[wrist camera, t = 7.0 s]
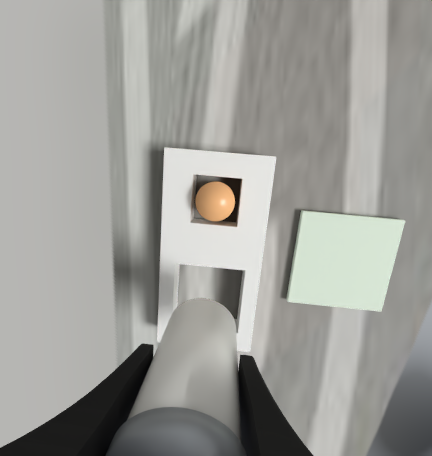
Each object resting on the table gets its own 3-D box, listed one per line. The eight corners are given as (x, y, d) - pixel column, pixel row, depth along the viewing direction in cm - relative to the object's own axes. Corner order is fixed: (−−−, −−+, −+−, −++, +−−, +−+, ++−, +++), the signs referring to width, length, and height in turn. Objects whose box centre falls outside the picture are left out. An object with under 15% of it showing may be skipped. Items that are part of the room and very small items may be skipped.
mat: (377, 308, 20) (381, 311, 20) (286, 298, 20) (287, 301, 20) (400, 219, 19) (405, 220, 18) (301, 210, 19) (303, 210, 18)
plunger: (232, 217, 19) (232, 223, 16) (198, 214, 19) (194, 219, 17) (235, 183, 18) (236, 183, 16) (200, 179, 18) (196, 180, 16)
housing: (247, 336, 21) (249, 352, 20) (163, 327, 22) (157, 341, 20) (271, 159, 18) (276, 156, 16) (170, 150, 18) (164, 147, 16)
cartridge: (198, 372, 16) (168, 566, 8) (150, 323, 15) (66, 480, 7) (254, 334, 15) (282, 510, 7) (206, 280, 14) (178, 406, 6)
